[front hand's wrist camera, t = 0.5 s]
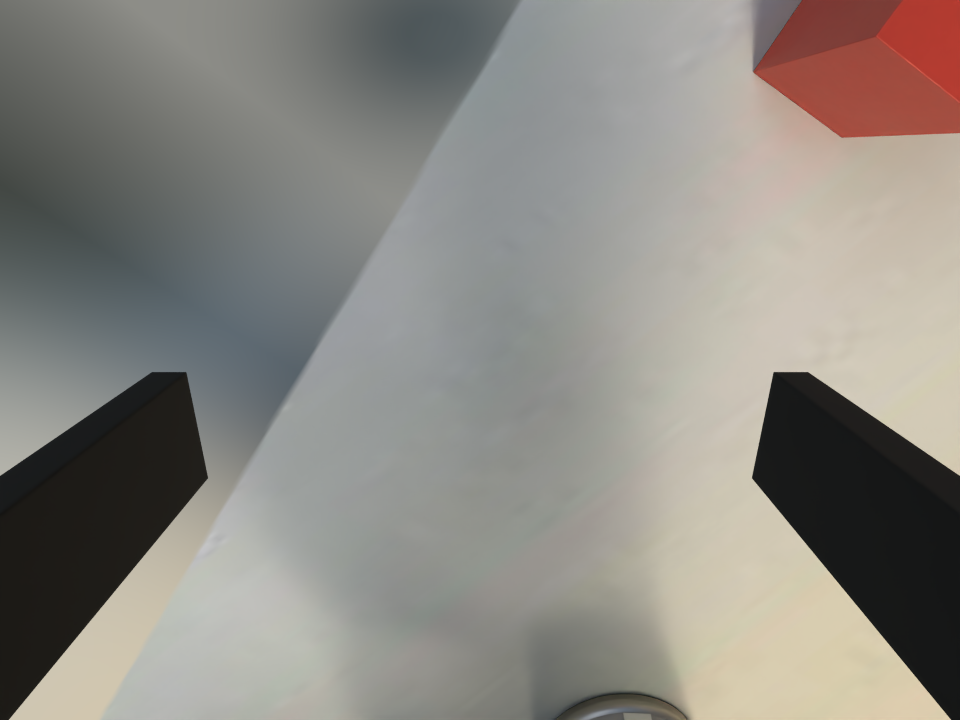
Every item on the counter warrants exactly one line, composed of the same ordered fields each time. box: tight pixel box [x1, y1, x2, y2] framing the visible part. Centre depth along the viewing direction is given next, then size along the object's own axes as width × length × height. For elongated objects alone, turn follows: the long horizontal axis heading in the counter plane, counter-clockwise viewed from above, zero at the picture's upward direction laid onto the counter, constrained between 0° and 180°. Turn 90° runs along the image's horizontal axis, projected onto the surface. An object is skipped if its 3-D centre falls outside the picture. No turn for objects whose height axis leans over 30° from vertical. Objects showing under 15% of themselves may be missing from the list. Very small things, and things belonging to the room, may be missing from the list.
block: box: [754, 0, 960, 138], centre depth 28 cm, size 7×9×11 cm
